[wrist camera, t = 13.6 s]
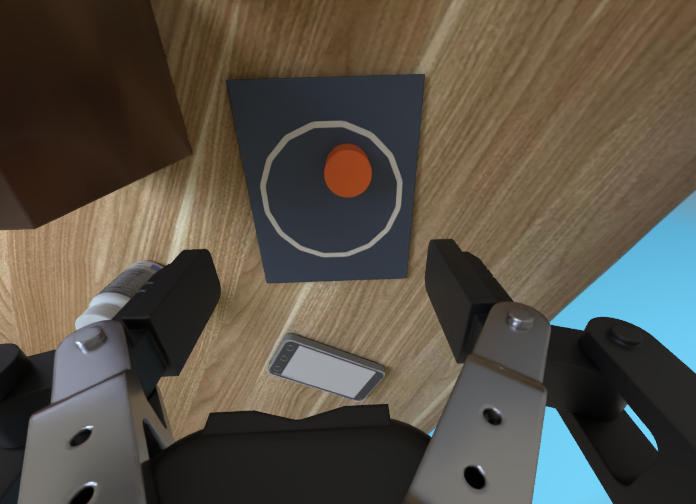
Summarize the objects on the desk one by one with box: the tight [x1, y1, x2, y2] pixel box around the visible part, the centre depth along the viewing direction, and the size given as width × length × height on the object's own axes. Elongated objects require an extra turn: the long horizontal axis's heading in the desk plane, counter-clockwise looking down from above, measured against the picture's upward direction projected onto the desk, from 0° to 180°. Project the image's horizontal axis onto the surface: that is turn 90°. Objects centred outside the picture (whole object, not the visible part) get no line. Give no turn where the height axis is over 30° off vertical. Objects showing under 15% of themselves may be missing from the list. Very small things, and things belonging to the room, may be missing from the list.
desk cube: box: [0, 0, 192, 230], centre depth 17 cm, size 13×9×16 cm
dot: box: [324, 144, 372, 198], centre depth 26 cm, size 4×4×3 cm
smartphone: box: [268, 334, 385, 401], centre depth 41 cm, size 7×1×15 cm
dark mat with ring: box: [226, 74, 425, 283], centre depth 29 cm, size 20×16×1 cm
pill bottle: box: [75, 261, 163, 330], centre depth 30 cm, size 5×5×8 cm
